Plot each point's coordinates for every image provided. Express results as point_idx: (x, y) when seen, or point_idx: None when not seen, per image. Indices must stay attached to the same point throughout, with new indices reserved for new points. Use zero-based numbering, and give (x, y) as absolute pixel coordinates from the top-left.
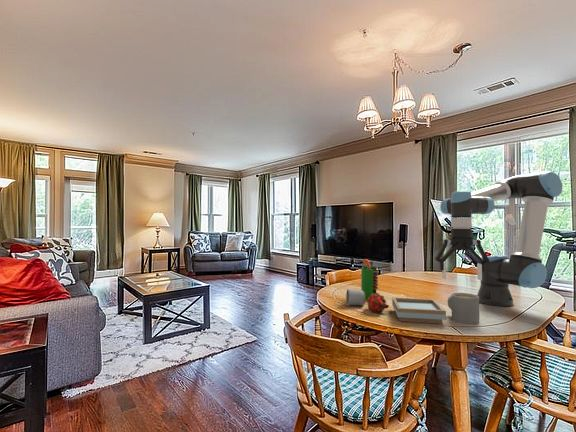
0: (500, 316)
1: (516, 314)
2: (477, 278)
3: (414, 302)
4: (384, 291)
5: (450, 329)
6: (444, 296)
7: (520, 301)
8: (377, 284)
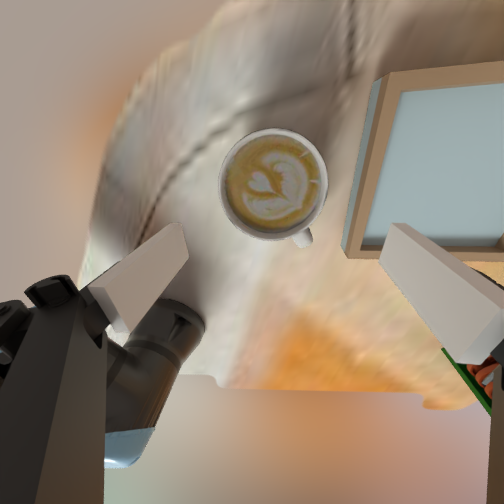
0: None
1: None
2: (188, 256)
3: None
4: (393, 377)
5: (375, 20)
6: (263, 350)
7: None
8: (490, 371)
